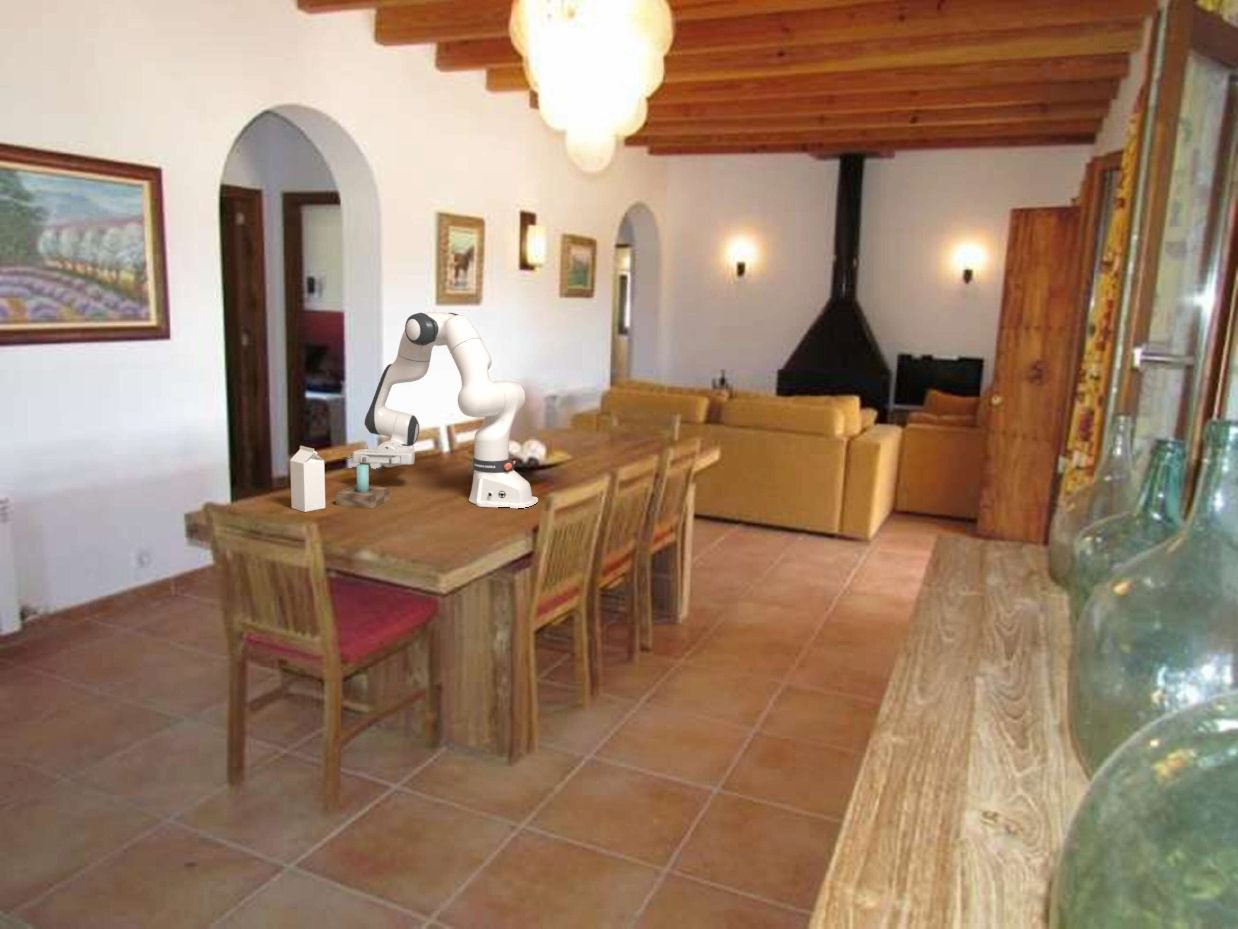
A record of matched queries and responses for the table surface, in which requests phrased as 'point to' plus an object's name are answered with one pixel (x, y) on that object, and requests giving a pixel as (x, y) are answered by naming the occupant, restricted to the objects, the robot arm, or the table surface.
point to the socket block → (362, 497)
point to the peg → (363, 478)
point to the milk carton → (307, 480)
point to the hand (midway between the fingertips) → (376, 461)
